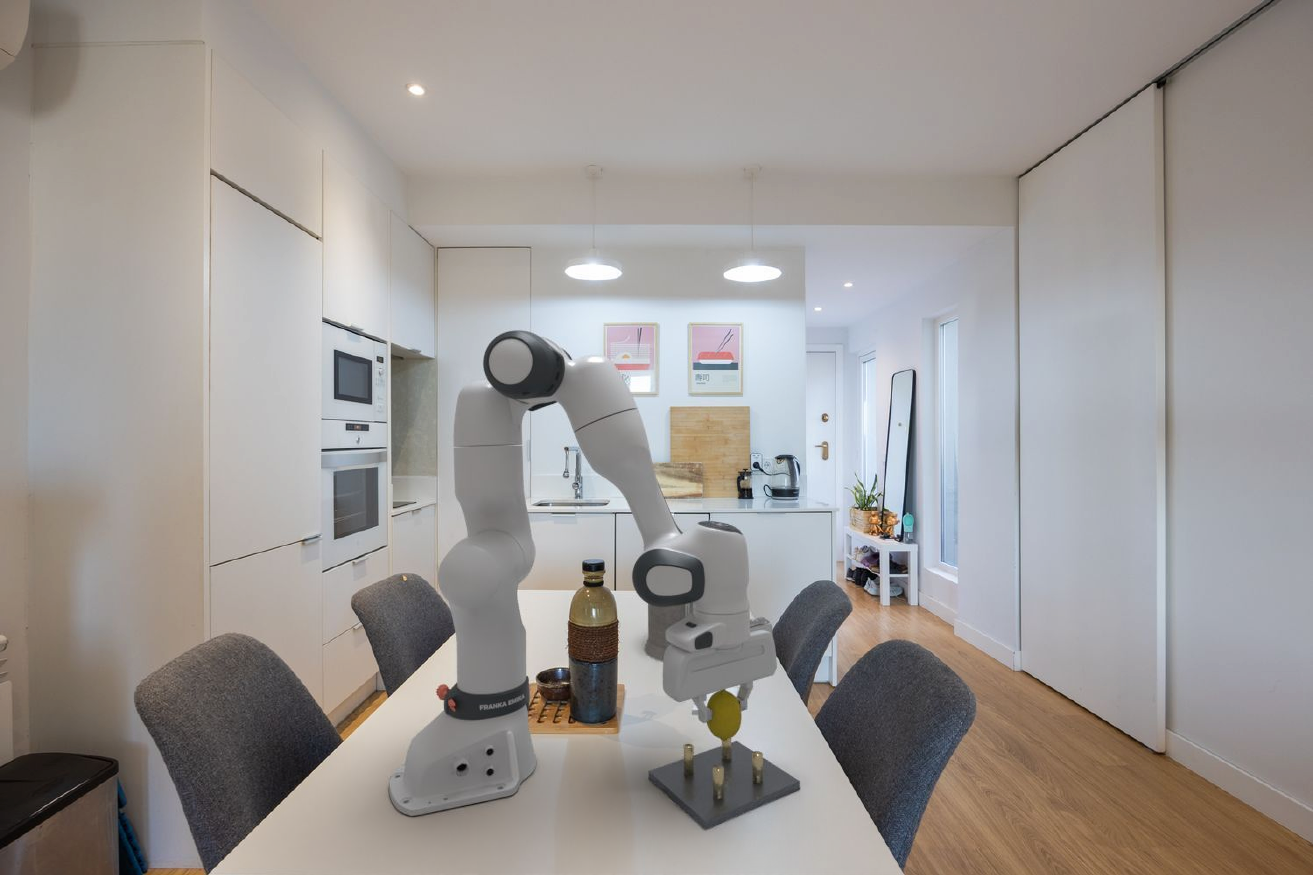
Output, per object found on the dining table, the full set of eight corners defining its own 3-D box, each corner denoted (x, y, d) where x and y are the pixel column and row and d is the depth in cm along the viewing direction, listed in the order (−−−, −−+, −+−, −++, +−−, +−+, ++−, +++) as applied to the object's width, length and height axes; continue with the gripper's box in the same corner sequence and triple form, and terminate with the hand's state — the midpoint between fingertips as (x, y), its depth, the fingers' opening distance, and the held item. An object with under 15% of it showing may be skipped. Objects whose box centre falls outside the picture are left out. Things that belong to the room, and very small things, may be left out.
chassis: (705, 829, 81) (704, 791, 81) (648, 778, 93) (648, 745, 93) (799, 788, 90) (799, 754, 90) (736, 747, 103) (736, 717, 103)
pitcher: (730, 635, 165) (729, 546, 166) (739, 679, 134) (738, 568, 134) (648, 634, 167) (647, 546, 167) (637, 678, 135) (636, 568, 136)
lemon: (737, 731, 95) (737, 681, 95) (744, 749, 89) (744, 696, 89) (703, 732, 94) (703, 682, 95) (708, 750, 89) (708, 697, 89)
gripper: (758, 610, 100) (759, 692, 100) (656, 632, 90) (657, 723, 89) (784, 619, 95) (786, 706, 95) (679, 643, 84) (681, 740, 84)
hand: (723, 715), depth 92 cm, fingers closed on lemon, 5 cm apart
